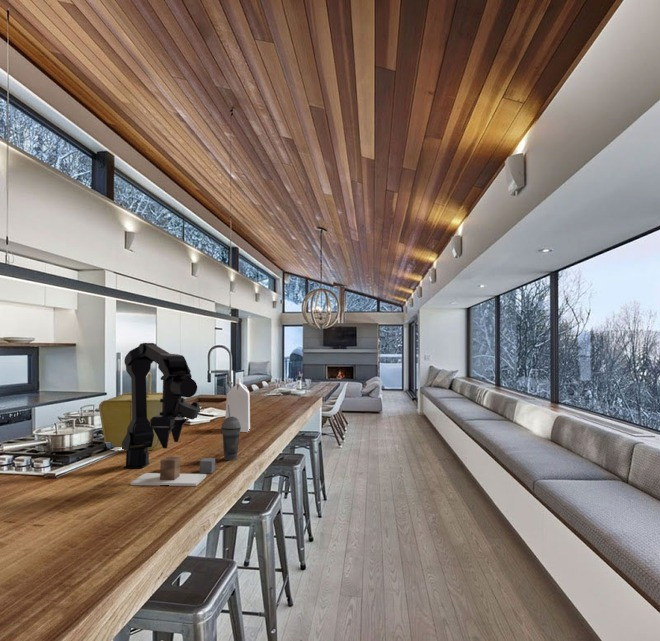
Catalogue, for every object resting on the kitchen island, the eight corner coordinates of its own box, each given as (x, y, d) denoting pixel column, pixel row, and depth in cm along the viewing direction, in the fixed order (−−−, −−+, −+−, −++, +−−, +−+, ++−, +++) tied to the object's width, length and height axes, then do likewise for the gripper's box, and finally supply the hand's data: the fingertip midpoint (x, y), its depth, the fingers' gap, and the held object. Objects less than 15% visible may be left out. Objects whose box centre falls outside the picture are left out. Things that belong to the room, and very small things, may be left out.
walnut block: (159, 480, 139) (160, 460, 140) (165, 475, 144) (166, 456, 144) (174, 480, 139) (174, 460, 140) (179, 476, 144) (180, 456, 144)
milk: (227, 428, 232) (228, 377, 233) (250, 428, 233) (250, 377, 234) (224, 432, 220) (225, 378, 221) (248, 432, 221) (249, 378, 222)
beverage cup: (235, 462, 165) (236, 406, 166) (217, 460, 166) (218, 405, 167) (243, 457, 172) (244, 404, 173) (225, 456, 173) (226, 403, 174)
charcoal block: (199, 473, 150) (199, 461, 150) (203, 470, 154) (203, 458, 154) (211, 473, 150) (211, 461, 150) (214, 470, 154) (215, 458, 154)
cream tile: (130, 484, 137) (130, 482, 137) (145, 475, 147) (145, 473, 147) (196, 486, 136) (196, 483, 136) (206, 476, 146) (206, 474, 146)
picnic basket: (164, 451, 180) (166, 375, 182) (95, 453, 177) (98, 376, 178) (177, 436, 209) (179, 371, 211) (118, 438, 205) (120, 371, 207)
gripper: (186, 398, 133) (185, 452, 133) (206, 392, 152) (205, 439, 151) (149, 398, 134) (148, 451, 133) (173, 392, 152) (172, 438, 152)
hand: (170, 445), depth 142 cm, fingers open, 9 cm apart
